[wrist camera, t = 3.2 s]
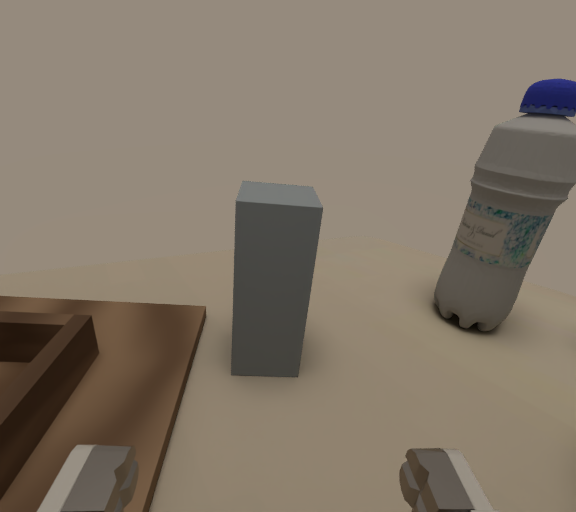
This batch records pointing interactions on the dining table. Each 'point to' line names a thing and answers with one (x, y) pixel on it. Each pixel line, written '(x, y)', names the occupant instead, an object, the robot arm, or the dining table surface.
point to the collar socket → (88, 387)
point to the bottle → (510, 206)
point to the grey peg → (272, 276)
